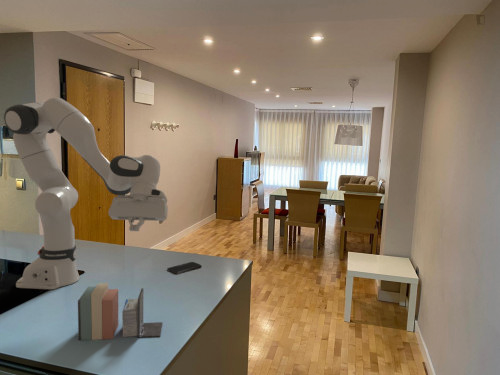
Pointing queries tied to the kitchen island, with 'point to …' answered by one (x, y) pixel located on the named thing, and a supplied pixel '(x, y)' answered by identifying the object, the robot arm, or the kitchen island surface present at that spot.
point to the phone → (184, 267)
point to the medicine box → (130, 318)
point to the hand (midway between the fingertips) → (133, 230)
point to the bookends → (143, 328)
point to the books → (99, 312)
